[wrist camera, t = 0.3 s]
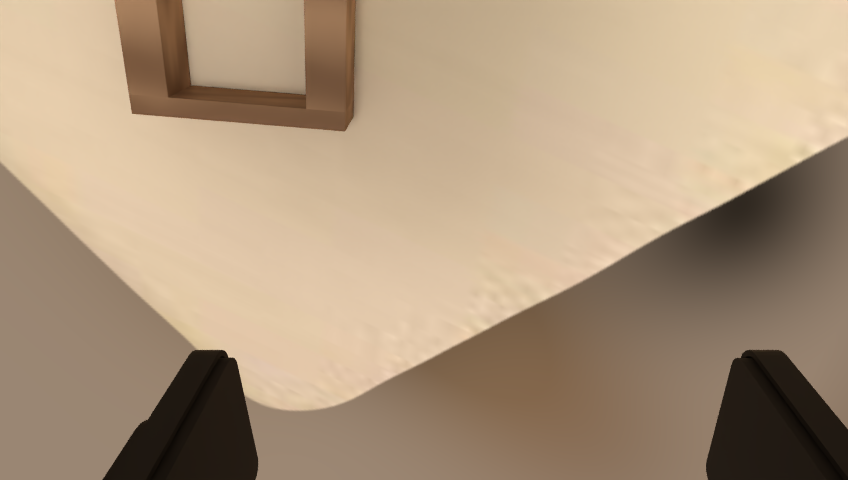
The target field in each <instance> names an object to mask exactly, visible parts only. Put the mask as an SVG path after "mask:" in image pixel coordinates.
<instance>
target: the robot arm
mask: <svg viewBox="0 0 848 480" xmlns="http://www.w3.org/2000/svg"><path fill="white" fill-rule="evenodd" d="M257 471H258V457H257V452H256V447H255V443H254V439H253V434H252V429H251V425H250V420H249V415H248V411H247V406H246V401H245V397H244V392H243V388H242V383H241V378H240V374H239V369H238V365H237V361H236V360H235V358H228V355H227V353H226V352H225V351H224V350H195V351H192V353H191V354H190V355H189V356H188V358H187V359H186V361H185V362H184V364H183V366H182V367H181V369H180V371H179V372H178V374H177V375H176V377H175V378H174V380H173V381H172V383H171V385H170V386H169V388H168V389H167V391H166V392H165V394H164V395H163V397H162V399H161V400H160V402H159V403H158V405H157V406H156V408H155V409H154V411H153V412H152V414H151V416H150V417H149V419H148V420H146V421H144V422H142V423H141V424H140V425H139V426H138V427H137V428H136V430H135V431H134V433H133V434H132V436H131V437H130V439H129V440H128V442H127V443H126V445H125V446H124V448H123V449H122V451H121V453H120V454H119V456H118V457H117V458H116V460H115V462H114V463H113V465H112V466H111V468H110V469H109V471H108V472H107V474H106V476H105V477H104V478H103V480H255V479H256V476H257ZM706 472H707V477H708V480H848V429H847V428H846V427H845V426H844V424H843V423H842V422H841V421H840V420H839V418H838V417H837V416H836V415H835V414H834V412H833V411H832V410H831V409H830V407H829V406H828V405H827V404H826V403H825V401H824V400H823V399H822V398H821V396H820V395H819V394H818V393H817V392H816V390H815V389H814V388H813V387H812V386H811V384H810V383H809V382H808V381H807V379H806V378H805V377H804V376H803V375H802V373H801V372H800V371H799V370H798V369H797V368H796V366H795V365H794V364H793V363H792V362H791V360H790V359H789V358H788V357H787V355H786V354H785V353H783V352H782V351H779V350H747V351H745V352H744V353H743V354H742V356H741V358H736V359H734V360H733V362H732V365H731V369H730V373H729V377H728V381H727V385H726V388H725V392H724V396H723V400H722V404H721V408H720V411H719V415H718V419H717V423H716V427H715V431H714V435H713V439H712V443H711V447H710V451H709V454H708V458H707V463H706Z"/></svg>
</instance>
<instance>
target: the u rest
mask: <svg viewBox="0 0 848 480" xmlns="http://www.w3.org/2000/svg"><path fill="white" fill-rule="evenodd" d="M115 6H116V12H117V19H118V25H119V32H120V38H121V45H122V51H123V58H124V64H125V71H126V77H127V84H128V90H129V97H130V103H131V110H132V114H142V115H154V116H166V117H178V118H190V119H202V120H214V121H227V122H239V123H251V124H263V125H275V126H287V127H299V128H311V129H323V130H335V131H345V130H346V129H347V127H348V125H349V123H350V122H351V120H352V118H353V107H354V53H355V0H304V15H305V71H306V95H299V94H287V93H275V92H263V91H251V90H239V89H227V88H215V87H203V86H191V83H190V74H189V64H188V55H187V45H186V36H185V26H184V17H183V8H182V0H115Z"/></svg>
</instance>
